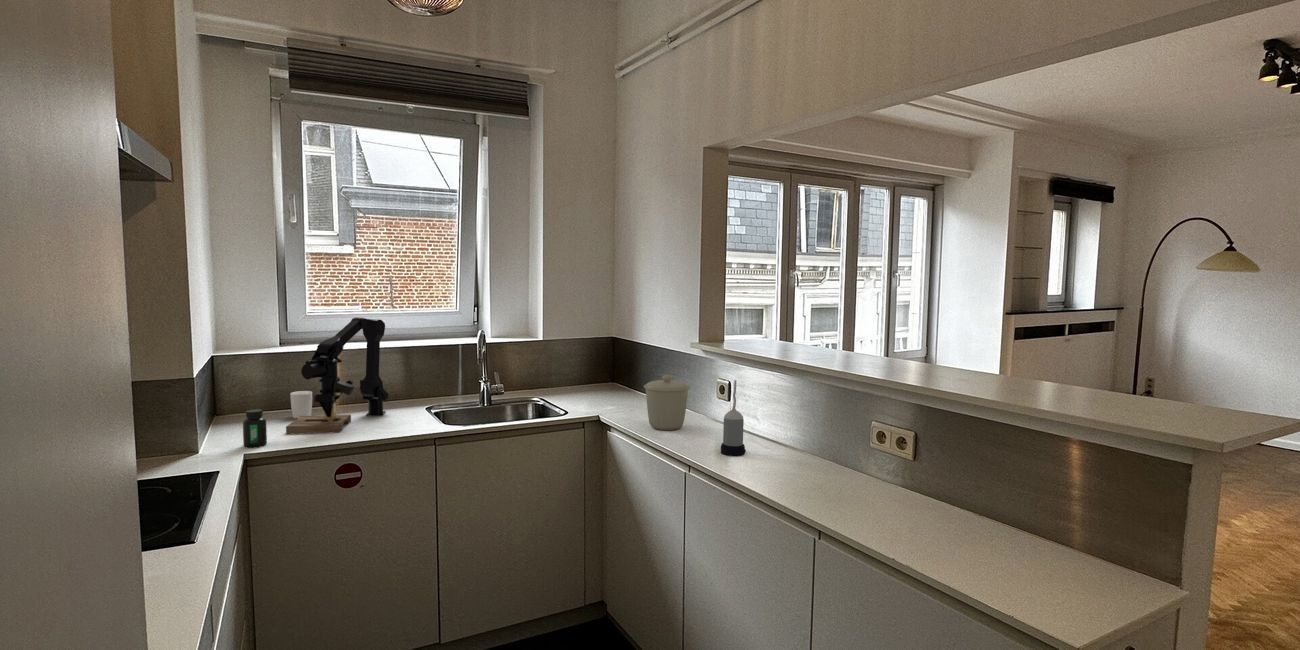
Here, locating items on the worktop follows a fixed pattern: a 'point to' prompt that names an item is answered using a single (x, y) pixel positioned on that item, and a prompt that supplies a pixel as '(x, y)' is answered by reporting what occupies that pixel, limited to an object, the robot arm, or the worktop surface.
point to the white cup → (301, 403)
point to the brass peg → (332, 413)
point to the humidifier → (733, 431)
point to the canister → (666, 403)
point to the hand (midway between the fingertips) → (330, 416)
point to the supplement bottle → (254, 429)
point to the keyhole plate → (317, 424)
